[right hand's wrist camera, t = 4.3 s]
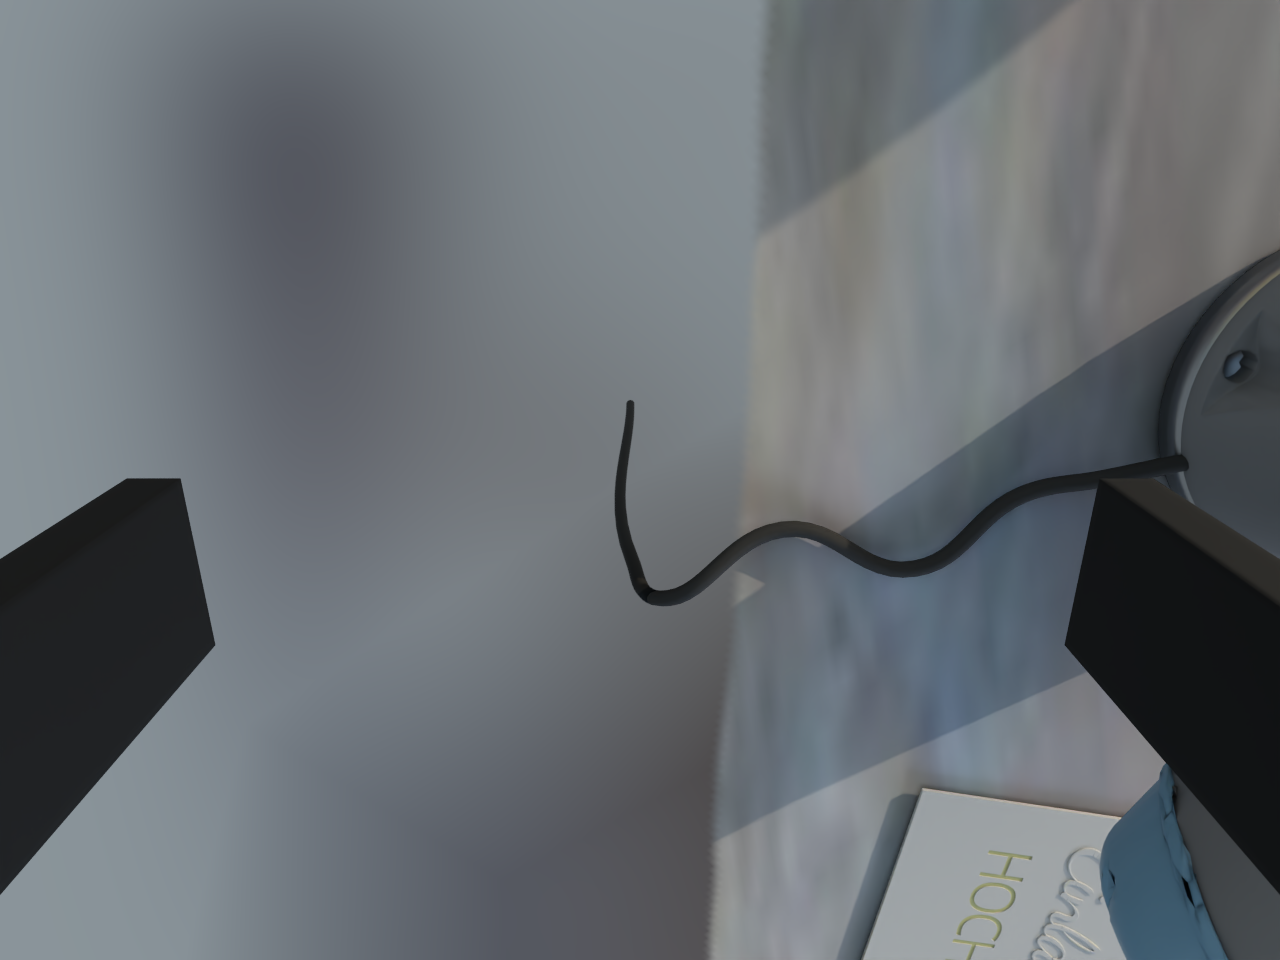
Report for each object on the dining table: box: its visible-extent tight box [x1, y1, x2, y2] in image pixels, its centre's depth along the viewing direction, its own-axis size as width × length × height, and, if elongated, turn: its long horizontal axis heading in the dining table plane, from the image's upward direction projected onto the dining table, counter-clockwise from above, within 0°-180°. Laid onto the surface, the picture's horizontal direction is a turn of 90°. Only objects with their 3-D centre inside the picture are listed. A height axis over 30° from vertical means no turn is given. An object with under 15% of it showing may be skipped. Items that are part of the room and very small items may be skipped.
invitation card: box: [861, 788, 1126, 960], centre depth 49 cm, size 21×1×15 cm
